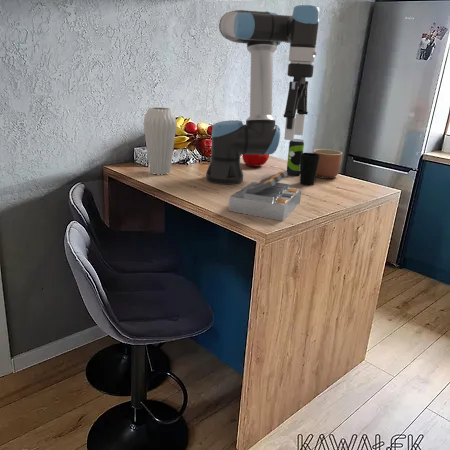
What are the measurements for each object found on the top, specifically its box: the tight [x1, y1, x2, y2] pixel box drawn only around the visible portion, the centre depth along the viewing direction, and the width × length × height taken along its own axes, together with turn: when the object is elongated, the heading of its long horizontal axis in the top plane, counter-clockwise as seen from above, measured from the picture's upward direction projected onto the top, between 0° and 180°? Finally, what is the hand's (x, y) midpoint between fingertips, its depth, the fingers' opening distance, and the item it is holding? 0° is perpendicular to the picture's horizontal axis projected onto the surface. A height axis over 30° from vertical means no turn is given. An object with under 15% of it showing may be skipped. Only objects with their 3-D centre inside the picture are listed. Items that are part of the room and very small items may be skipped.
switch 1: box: [246, 179, 276, 194], centre depth 145 cm, size 9×4×2 cm, turn 67°
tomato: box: [241, 154, 270, 167], centre depth 211 cm, size 13×12×11 cm
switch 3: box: [259, 169, 288, 182], centre depth 157 cm, size 9×4×2 cm, turn 67°
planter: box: [312, 148, 343, 179], centre depth 198 cm, size 12×12×11 cm
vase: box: [143, 106, 177, 174], centre depth 186 cm, size 13×13×26 cm
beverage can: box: [286, 138, 305, 177], centre depth 198 cm, size 6×6×15 cm
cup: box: [299, 152, 320, 187], centre depth 184 cm, size 8×8×12 cm
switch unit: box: [228, 181, 302, 222], centre depth 153 cm, size 18×22×6 cm
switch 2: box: [253, 174, 283, 187], centre depth 151 cm, size 9×4×2 cm, turn 67°
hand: (293, 137), depth 143 cm, fingers open, 11 cm apart
